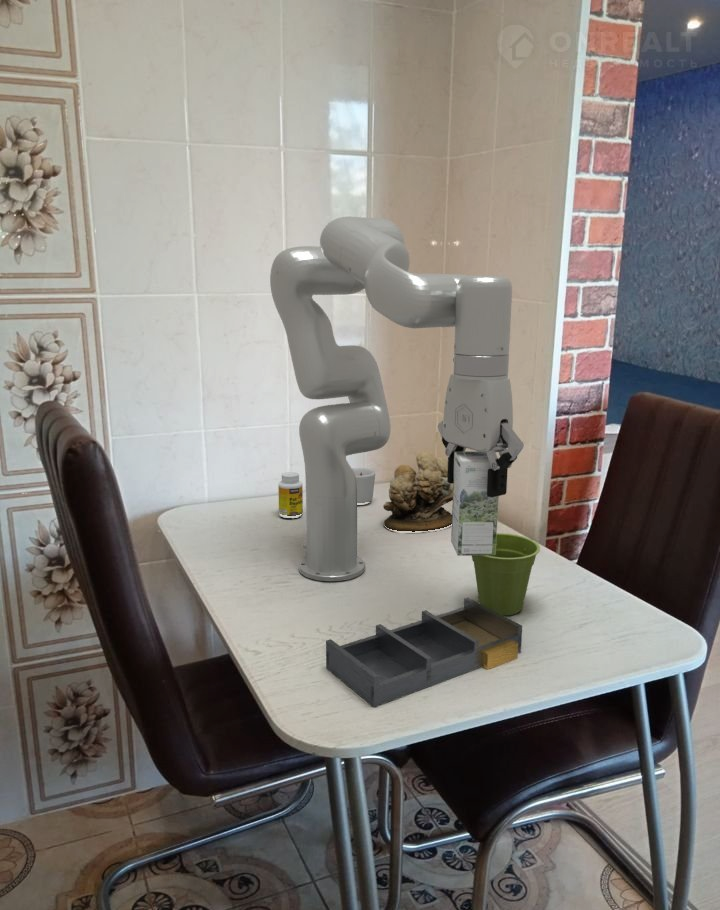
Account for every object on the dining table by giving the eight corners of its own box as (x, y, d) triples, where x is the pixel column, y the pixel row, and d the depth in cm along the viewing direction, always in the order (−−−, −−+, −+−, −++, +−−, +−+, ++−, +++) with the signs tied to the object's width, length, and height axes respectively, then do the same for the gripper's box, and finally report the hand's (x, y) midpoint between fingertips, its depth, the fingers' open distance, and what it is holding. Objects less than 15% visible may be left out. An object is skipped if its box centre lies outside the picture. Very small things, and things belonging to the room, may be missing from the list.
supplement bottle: (289, 521, 170) (288, 478, 168) (274, 516, 174) (273, 473, 172) (307, 516, 174) (307, 474, 172) (292, 511, 178) (291, 469, 175)
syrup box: (488, 542, 113) (492, 449, 110) (496, 556, 107) (501, 458, 104) (450, 543, 113) (453, 449, 109) (457, 557, 107) (460, 459, 104)
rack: (326, 668, 107) (325, 640, 106) (466, 621, 121) (467, 597, 120) (378, 711, 96) (378, 681, 95) (525, 654, 110) (527, 628, 109)
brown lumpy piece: (440, 511, 178) (442, 442, 174) (468, 526, 168) (472, 452, 164) (373, 522, 170) (374, 449, 166) (399, 538, 160) (401, 461, 156)
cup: (328, 506, 182) (328, 474, 180) (335, 497, 189) (334, 466, 187) (372, 508, 180) (372, 476, 178) (377, 499, 188) (377, 468, 186)
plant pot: (452, 599, 129) (454, 538, 127) (509, 588, 134) (512, 529, 131) (489, 628, 119) (493, 562, 116) (551, 615, 123) (555, 551, 121)
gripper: (420, 362, 109) (418, 479, 113) (505, 375, 95) (499, 508, 99) (460, 359, 113) (456, 472, 117) (547, 371, 99) (539, 499, 103)
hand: (476, 487), depth 108 cm, fingers closed on syrup box, 7 cm apart
